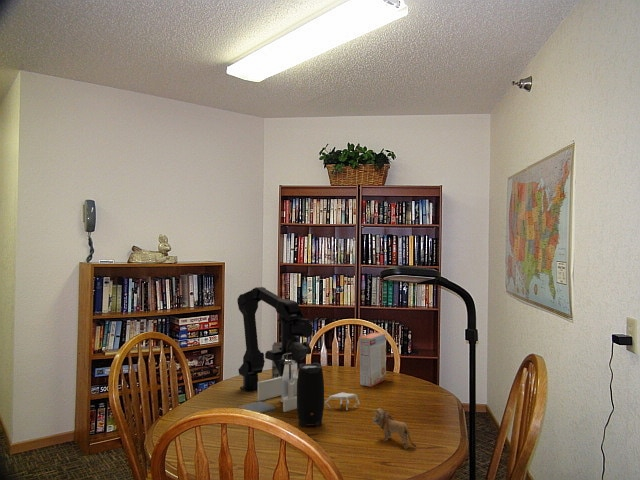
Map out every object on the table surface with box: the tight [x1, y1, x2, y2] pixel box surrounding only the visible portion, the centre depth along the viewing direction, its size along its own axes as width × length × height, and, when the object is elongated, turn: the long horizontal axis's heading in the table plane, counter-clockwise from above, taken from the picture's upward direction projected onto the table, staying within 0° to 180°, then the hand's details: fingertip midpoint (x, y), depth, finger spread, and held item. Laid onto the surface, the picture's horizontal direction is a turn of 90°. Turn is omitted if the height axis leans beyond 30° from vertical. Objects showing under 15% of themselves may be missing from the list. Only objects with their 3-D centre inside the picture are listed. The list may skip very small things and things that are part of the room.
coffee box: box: [271, 341, 289, 379], centre depth 211 cm, size 9×6×16 cm
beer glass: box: [280, 359, 299, 404], centre depth 182 cm, size 7×7×15 cm
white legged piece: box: [324, 391, 361, 411], centre depth 175 cm, size 12×8×5 cm
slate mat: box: [237, 400, 277, 414], centre depth 174 cm, size 10×10×1 cm
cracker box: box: [358, 331, 387, 388], centre depth 208 cm, size 14×6×21 cm, turn 144°
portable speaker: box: [296, 362, 325, 428], centre depth 160 cm, size 9×9×20 cm
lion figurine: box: [371, 407, 417, 450], centre depth 145 cm, size 15×5×9 cm, turn 51°
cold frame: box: [257, 376, 298, 413], centre depth 182 cm, size 17×17×7 cm
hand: (288, 374), depth 183 cm, fingers closed on beer glass, 6 cm apart
